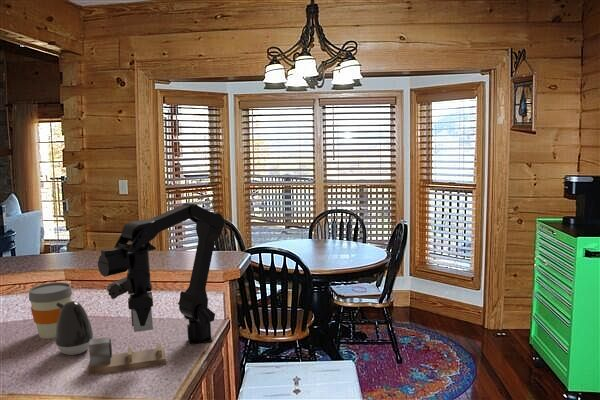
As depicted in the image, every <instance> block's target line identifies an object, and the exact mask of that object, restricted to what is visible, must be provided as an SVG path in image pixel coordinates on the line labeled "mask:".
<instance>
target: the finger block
mask: <svg viewBox="0 0 600 400" xmlns="http://www.w3.org/2000/svg"><path fill="white" fill-rule="evenodd" d="M152 308H153V307H151V309H150V312H149V315H148V318H147V321H146V323H145V326H140V322H139V319H138V316H137V313H136V310H135V309H130V316H131V327H133V333H137V332H144V331H145V332H146V331H151V330H154V327H153V324H154V323H153V311H152V310H153V309H152Z"/></svg>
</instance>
